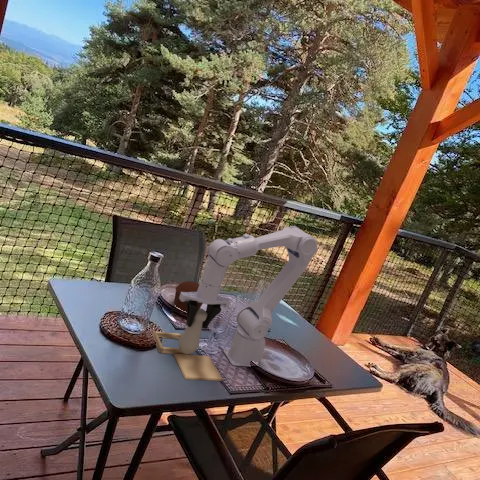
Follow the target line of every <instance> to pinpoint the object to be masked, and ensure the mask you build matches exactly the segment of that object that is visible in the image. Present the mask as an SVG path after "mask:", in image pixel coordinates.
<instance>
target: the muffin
mask: <svg viewBox="0 0 480 480" xmlns="http://www.w3.org/2000/svg"><path fill="white" fill-rule="evenodd" d="M199 284H200V283H197V282H195V281H190V280H188V281H184V282H181V283H179V284H178V285H177V286H176V287H175V295H174V300H173V305H174V304H175V305H176V307H178V308H180V309H181V310H183V311H186V312H187V305H186V301H184V302H183V301H181V300H180V299H179V297H180V293H181V292H197V290H198V287H199ZM197 304H198V305H197V306H198V308H201V309H202V305H203V304H204V303H198V302H197Z"/></svg>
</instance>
